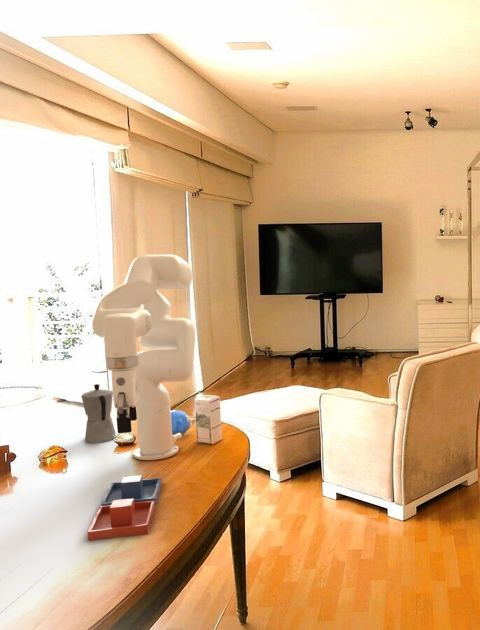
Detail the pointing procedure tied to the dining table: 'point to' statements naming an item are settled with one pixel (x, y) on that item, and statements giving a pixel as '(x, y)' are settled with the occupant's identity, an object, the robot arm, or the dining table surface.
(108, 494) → the blue tray
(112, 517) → the red block
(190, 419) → the blue mole toy
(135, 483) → the blue block
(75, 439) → the dining table surface
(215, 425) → the syrup box
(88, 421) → the coffeepot
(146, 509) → the red tray
